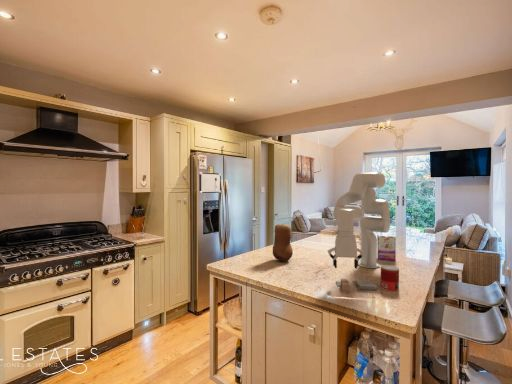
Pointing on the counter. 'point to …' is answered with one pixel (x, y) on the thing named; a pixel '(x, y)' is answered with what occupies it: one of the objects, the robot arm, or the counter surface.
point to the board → (366, 289)
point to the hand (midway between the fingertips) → (345, 267)
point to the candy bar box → (386, 247)
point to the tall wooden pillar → (344, 285)
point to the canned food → (390, 277)
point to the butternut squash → (282, 243)
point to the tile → (366, 284)
